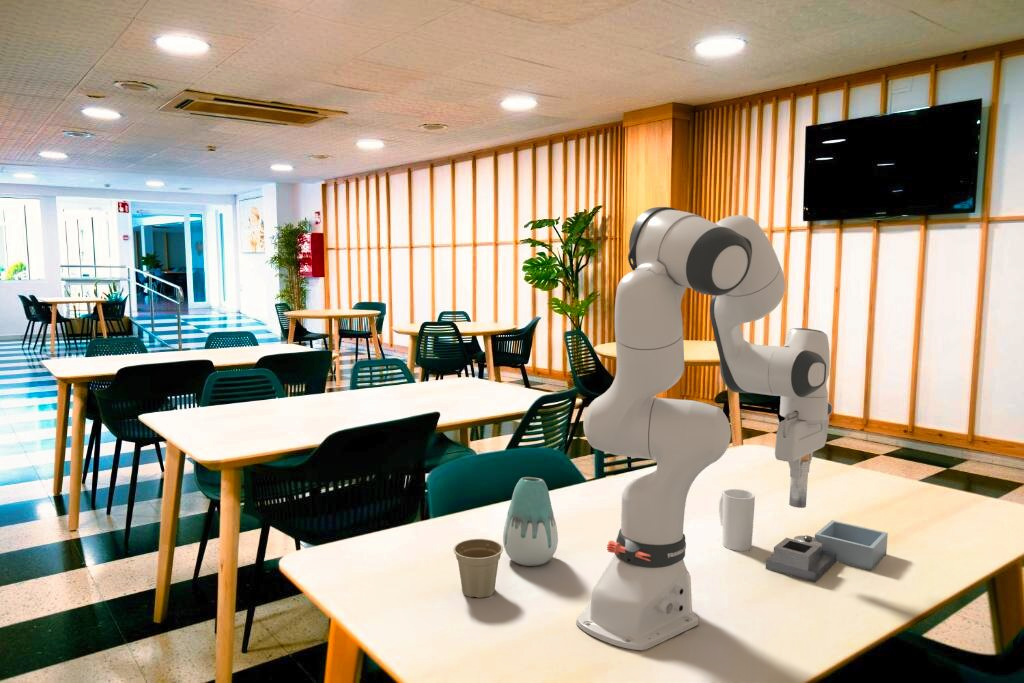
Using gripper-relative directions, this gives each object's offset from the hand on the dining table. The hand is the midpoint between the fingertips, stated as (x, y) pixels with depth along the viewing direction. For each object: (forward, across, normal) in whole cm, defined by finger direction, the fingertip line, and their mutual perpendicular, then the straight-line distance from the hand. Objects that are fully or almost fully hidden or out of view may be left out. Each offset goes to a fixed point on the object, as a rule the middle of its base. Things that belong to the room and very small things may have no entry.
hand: (799, 475), depth 145 cm
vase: (+21, -32, +44) cm, 58 cm away
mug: (+20, +6, +16) cm, 26 cm away
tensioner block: (+20, +4, 0) cm, 20 cm away
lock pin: (+6, 0, 0) cm, 6 cm away
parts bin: (+20, +17, -6) cm, 27 cm away
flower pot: (+21, -50, +42) cm, 69 cm away
